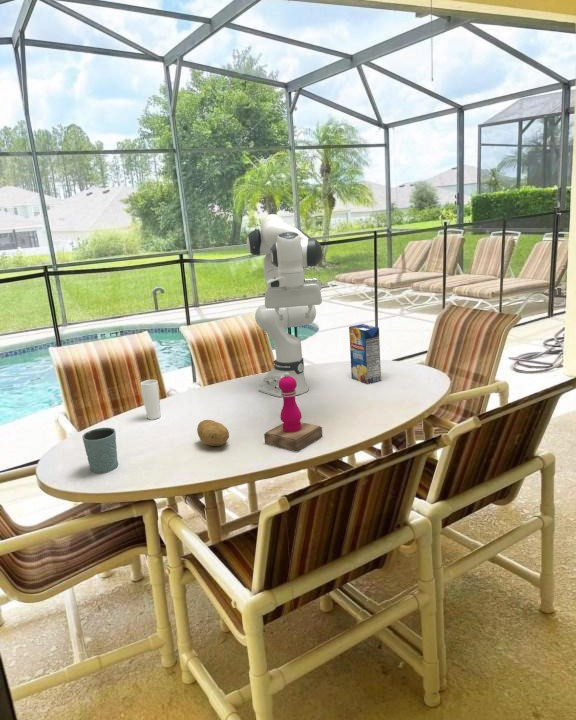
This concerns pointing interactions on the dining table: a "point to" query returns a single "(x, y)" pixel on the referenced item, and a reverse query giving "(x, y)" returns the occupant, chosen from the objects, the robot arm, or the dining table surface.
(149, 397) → the drinking glass
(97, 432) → the green textured cup
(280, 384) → the pepper mill
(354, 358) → the juice carton
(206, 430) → the potato
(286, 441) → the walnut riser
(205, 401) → the dining table surface
